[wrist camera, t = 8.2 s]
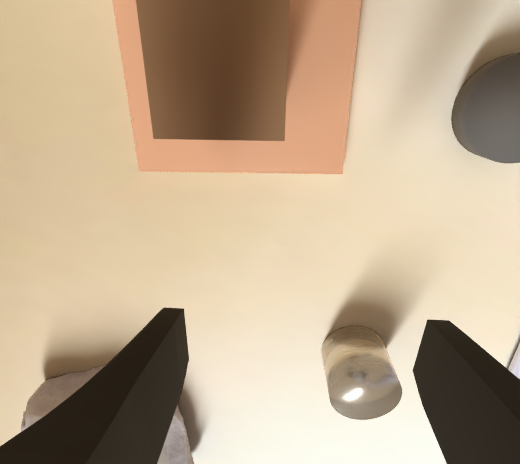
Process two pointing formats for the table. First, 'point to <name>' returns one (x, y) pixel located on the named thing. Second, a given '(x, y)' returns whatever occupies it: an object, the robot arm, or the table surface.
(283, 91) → the walnut block
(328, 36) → the terracotta tile
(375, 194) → the table surface
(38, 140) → the table surface
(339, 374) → the brushed metal tin
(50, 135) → the table surface
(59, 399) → the stone block
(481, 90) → the black rubber puck
